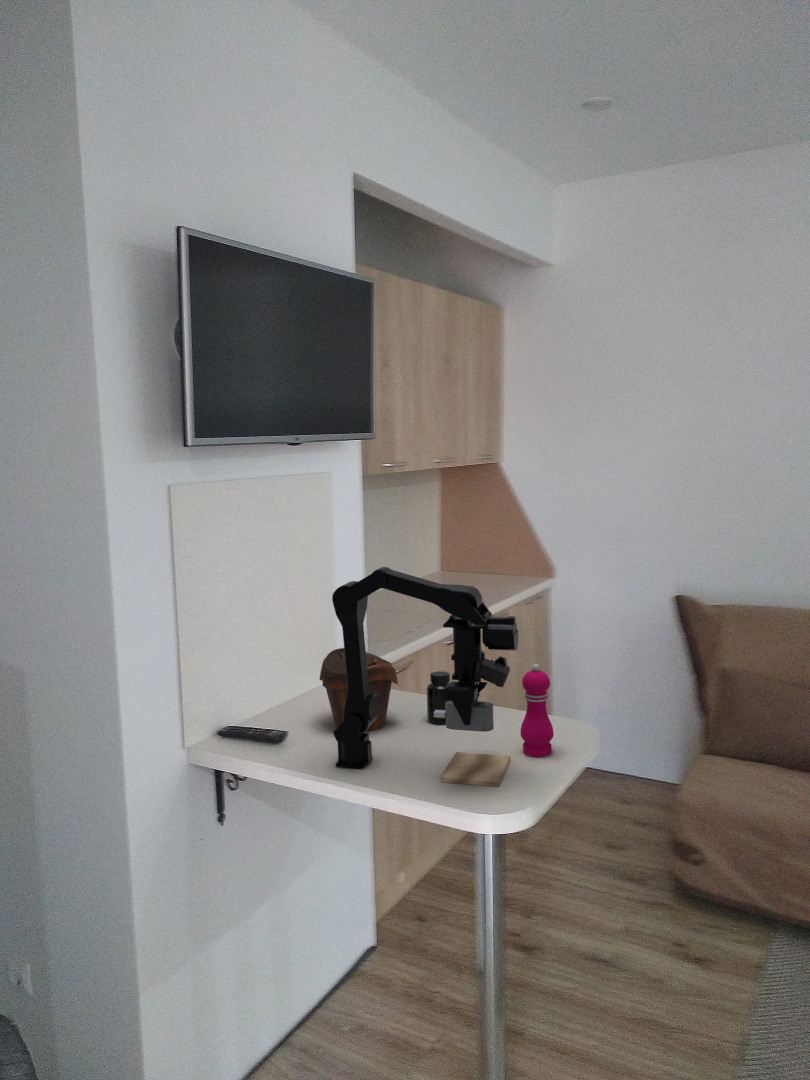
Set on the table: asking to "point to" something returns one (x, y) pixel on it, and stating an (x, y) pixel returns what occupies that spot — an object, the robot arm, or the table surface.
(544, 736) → the pepper mill
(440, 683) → the supplement bottle
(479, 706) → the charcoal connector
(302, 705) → the table surface
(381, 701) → the brown tapered rounded piece
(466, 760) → the cork mat
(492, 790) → the table surface
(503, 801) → the table surface
